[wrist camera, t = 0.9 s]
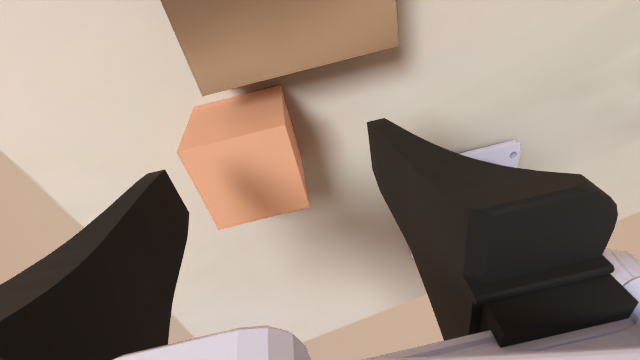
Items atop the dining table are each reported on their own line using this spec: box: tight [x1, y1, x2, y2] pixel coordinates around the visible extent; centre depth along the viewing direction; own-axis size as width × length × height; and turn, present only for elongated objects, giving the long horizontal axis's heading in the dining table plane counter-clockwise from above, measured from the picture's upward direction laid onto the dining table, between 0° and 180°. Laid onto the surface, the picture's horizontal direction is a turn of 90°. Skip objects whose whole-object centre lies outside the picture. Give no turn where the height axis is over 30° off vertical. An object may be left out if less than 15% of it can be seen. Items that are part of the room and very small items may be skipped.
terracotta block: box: [177, 85, 310, 230], centre depth 19 cm, size 5×5×5 cm
